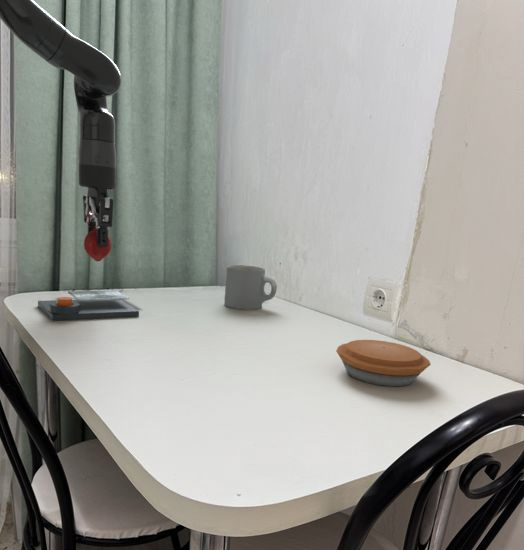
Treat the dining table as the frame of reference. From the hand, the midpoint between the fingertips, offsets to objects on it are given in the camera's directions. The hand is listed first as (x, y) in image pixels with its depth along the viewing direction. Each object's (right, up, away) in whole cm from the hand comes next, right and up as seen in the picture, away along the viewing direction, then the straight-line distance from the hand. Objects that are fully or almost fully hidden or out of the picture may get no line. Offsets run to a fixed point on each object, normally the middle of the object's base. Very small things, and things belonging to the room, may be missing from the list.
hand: (97, 245), depth 111 cm
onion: (0, -4, +1) cm, 4 cm away
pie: (+56, -28, -25) cm, 67 cm away
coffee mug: (+33, -12, +22) cm, 41 cm away
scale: (-2, -15, +1) cm, 15 cm away
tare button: (-4, -14, -7) cm, 16 cm away
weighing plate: (-1, -11, +3) cm, 11 cm away
